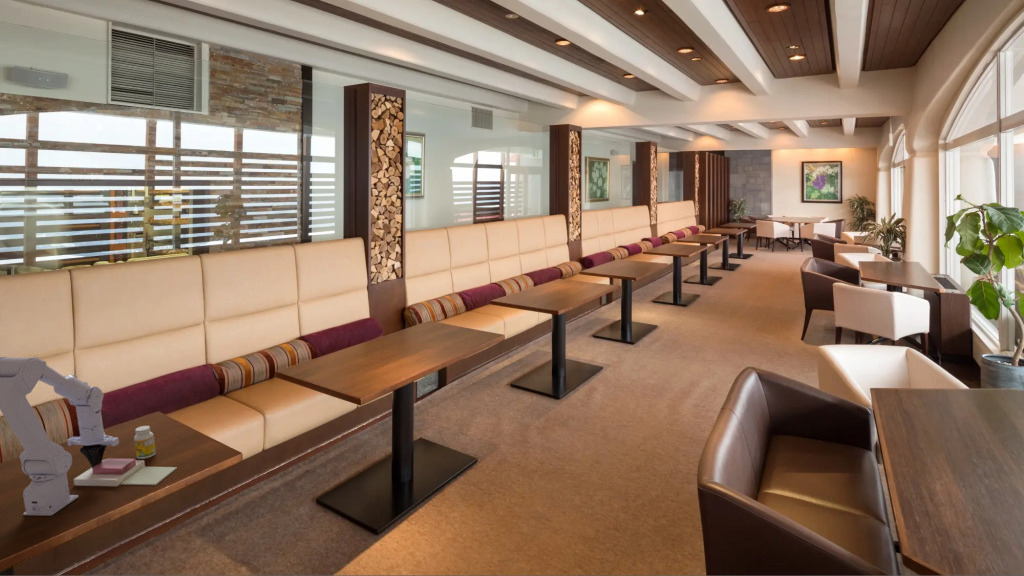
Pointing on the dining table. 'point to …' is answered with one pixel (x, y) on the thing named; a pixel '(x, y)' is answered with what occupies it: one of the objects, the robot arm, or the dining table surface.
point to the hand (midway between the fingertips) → (97, 466)
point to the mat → (148, 476)
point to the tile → (114, 466)
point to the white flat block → (106, 477)
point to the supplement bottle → (144, 442)
